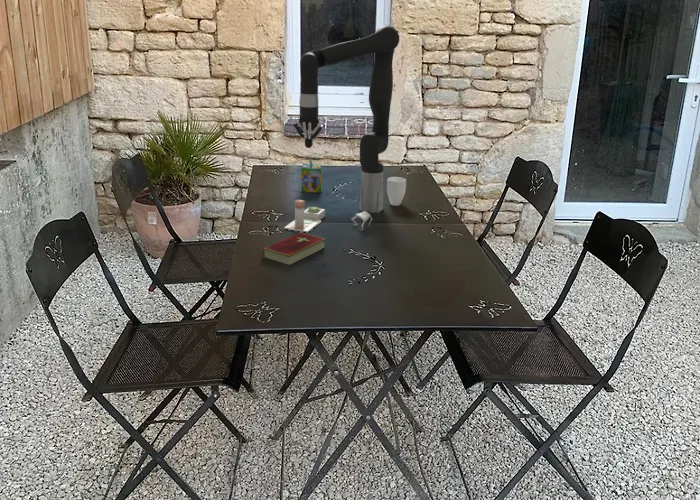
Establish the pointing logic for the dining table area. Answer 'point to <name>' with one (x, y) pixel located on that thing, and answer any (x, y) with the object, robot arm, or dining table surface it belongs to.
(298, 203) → the marker
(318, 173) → the chalk box
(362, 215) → the origami figure
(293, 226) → the colouring board
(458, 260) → the dining table surface
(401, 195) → the mug
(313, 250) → the hardcover book
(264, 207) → the dining table surface
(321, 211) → the button housing
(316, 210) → the button
